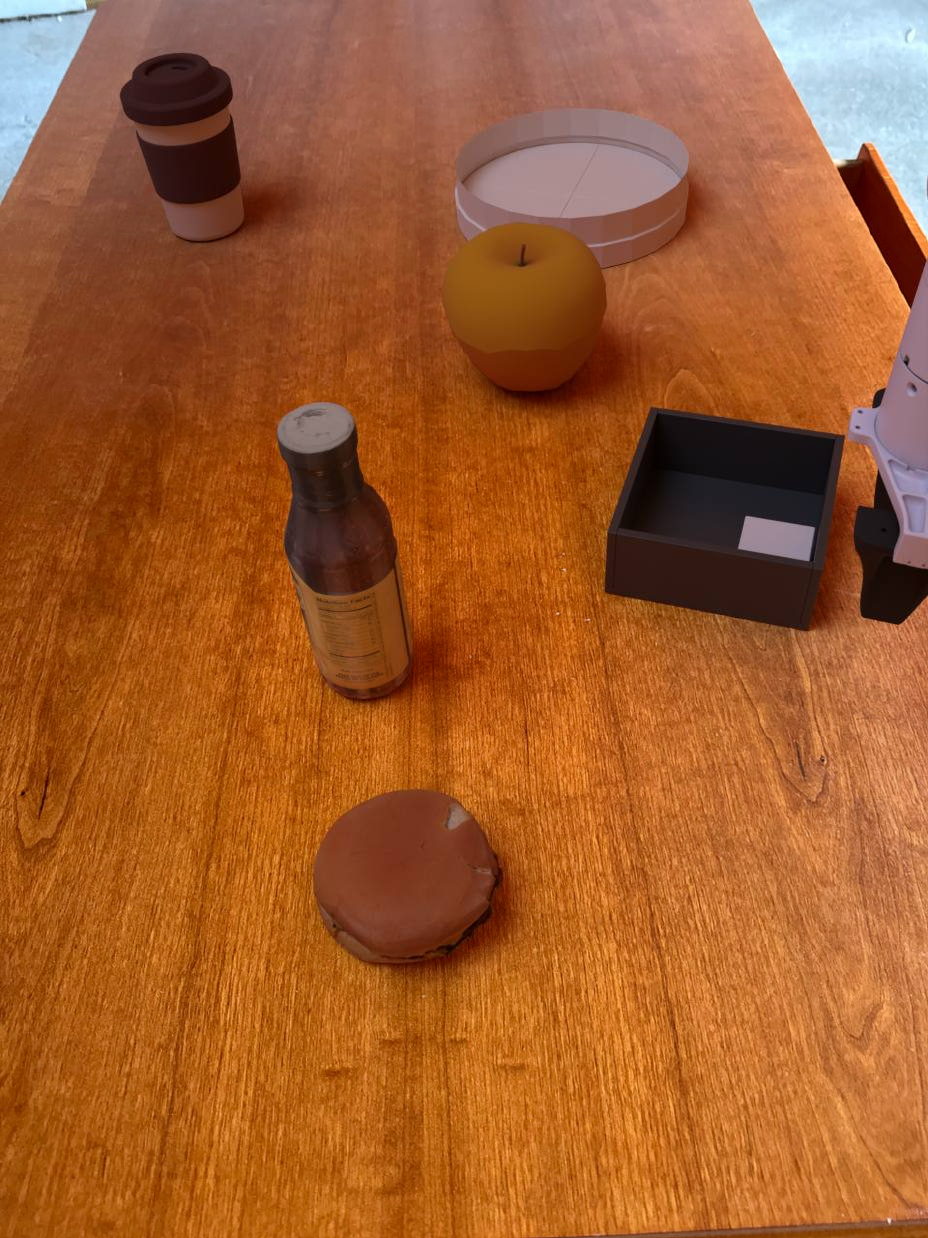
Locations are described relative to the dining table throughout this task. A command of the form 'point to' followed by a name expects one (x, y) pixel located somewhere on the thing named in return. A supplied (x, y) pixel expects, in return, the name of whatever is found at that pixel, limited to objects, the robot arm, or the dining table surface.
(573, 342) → the apple
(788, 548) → the cube
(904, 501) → the robot arm
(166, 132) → the coffee cup
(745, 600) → the bin
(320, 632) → the sauce bottle
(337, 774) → the dining table surface
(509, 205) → the dish
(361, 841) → the chocolate glazed sandwich cookie
